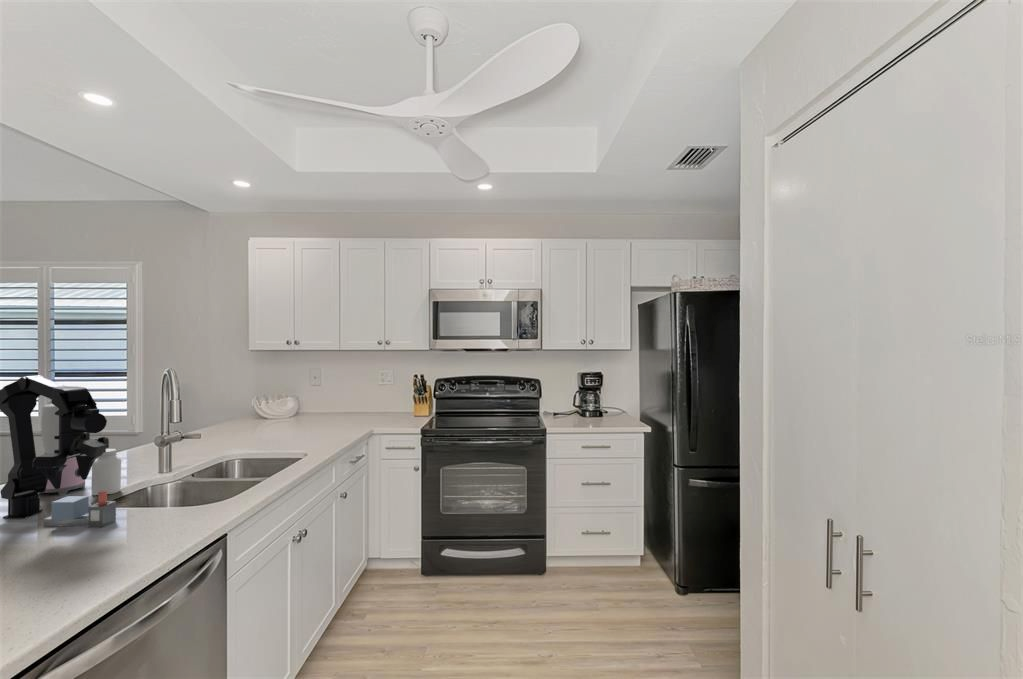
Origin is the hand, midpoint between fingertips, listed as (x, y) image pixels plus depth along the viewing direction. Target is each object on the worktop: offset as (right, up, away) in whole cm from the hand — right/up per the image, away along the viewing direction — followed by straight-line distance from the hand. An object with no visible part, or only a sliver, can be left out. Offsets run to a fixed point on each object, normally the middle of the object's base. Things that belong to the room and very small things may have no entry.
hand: (71, 483), depth 144 cm
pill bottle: (-14, -12, +29) cm, 34 cm away
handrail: (0, -12, 0) cm, 12 cm away
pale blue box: (0, -10, 0) cm, 10 cm away
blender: (-29, -12, +30) cm, 43 cm away
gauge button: (+9, -8, 0) cm, 12 cm away
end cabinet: (+9, -12, 0) cm, 15 cm away
